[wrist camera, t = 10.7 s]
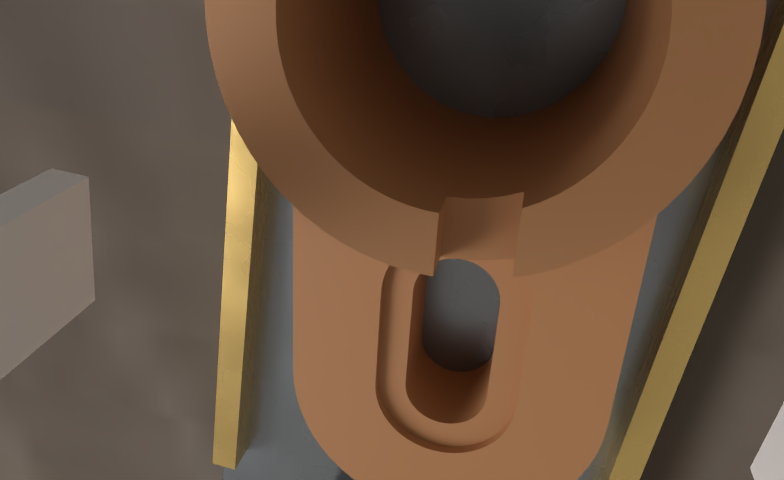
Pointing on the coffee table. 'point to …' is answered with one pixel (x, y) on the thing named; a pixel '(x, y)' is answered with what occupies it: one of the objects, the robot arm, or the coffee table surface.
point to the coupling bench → (466, 279)
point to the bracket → (471, 224)
